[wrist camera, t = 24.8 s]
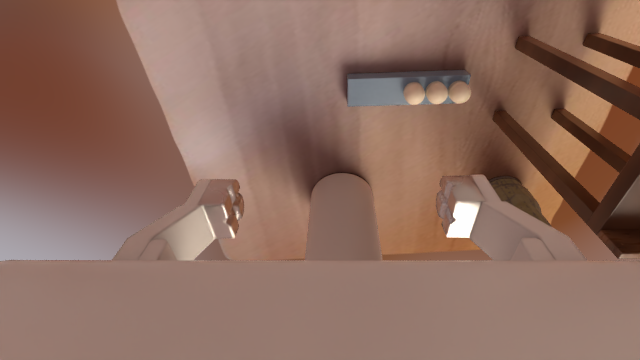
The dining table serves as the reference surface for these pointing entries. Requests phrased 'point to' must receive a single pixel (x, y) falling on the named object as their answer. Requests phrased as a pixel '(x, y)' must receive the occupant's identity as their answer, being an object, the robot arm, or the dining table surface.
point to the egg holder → (408, 88)
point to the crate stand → (590, 142)
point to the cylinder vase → (342, 221)
